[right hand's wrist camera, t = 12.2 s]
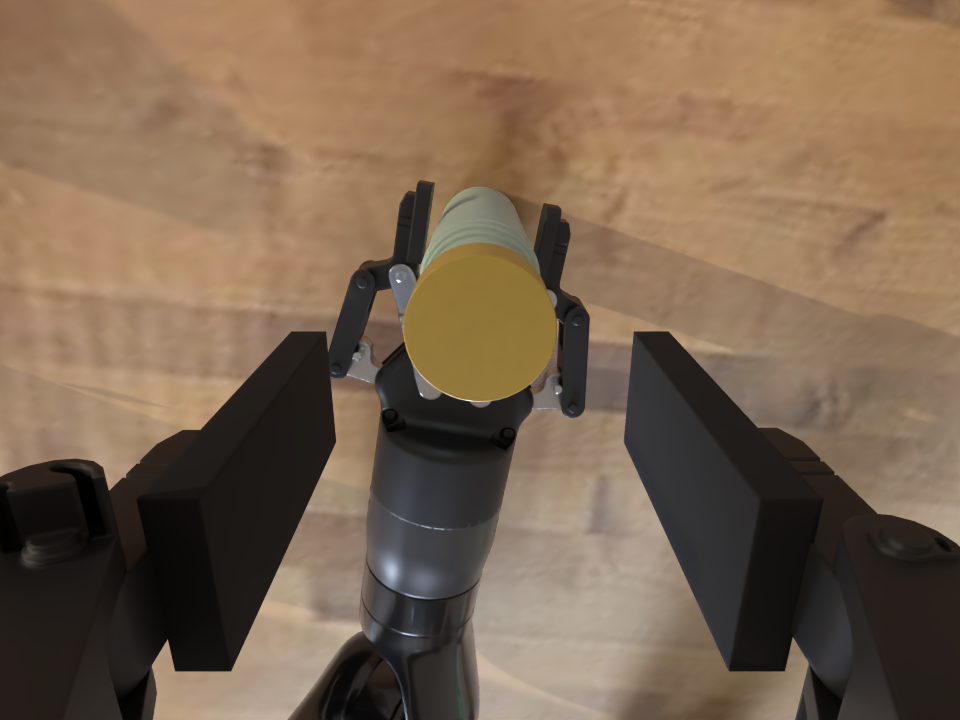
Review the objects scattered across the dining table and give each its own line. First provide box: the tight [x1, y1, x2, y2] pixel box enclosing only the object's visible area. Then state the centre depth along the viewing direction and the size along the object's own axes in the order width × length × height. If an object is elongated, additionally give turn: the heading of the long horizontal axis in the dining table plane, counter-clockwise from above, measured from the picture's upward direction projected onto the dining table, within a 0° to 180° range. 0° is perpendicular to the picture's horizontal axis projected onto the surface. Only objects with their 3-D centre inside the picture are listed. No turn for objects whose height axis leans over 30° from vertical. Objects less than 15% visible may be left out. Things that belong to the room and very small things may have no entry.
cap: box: [403, 242, 557, 402], centre depth 19 cm, size 4×4×2 cm
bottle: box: [420, 186, 540, 275], centre depth 28 cm, size 5×5×20 cm
